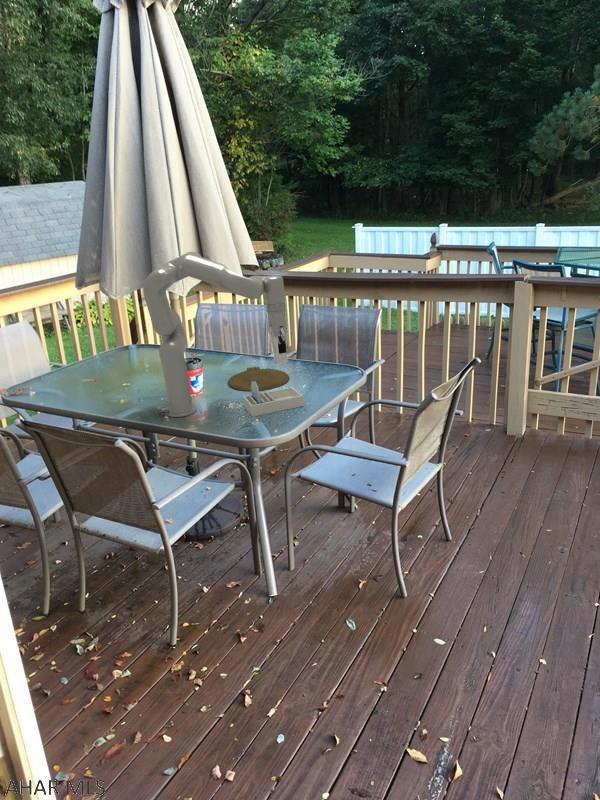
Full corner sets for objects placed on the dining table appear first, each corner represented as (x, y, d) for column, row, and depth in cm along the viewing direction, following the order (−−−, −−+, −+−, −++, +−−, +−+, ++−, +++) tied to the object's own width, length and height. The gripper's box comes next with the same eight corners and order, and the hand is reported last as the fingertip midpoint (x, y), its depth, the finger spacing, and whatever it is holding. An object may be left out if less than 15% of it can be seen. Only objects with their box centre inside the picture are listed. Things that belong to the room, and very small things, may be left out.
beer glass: (270, 364, 250) (267, 327, 245) (273, 359, 256) (270, 323, 251) (288, 363, 249) (284, 327, 244) (290, 358, 255) (287, 323, 250)
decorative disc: (237, 392, 273) (220, 371, 299) (237, 399, 274) (220, 378, 300) (298, 380, 282) (276, 361, 308) (298, 387, 283) (276, 367, 309)
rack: (252, 416, 249) (249, 388, 245) (243, 406, 260) (240, 379, 256) (303, 406, 255) (301, 378, 251) (293, 396, 267) (291, 370, 263)
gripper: (260, 304, 251) (264, 347, 258) (273, 312, 236) (277, 357, 242) (278, 302, 254) (281, 344, 260) (292, 309, 238) (295, 354, 245)
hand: (279, 350), depth 251 cm, fingers closed on beer glass, 6 cm apart
